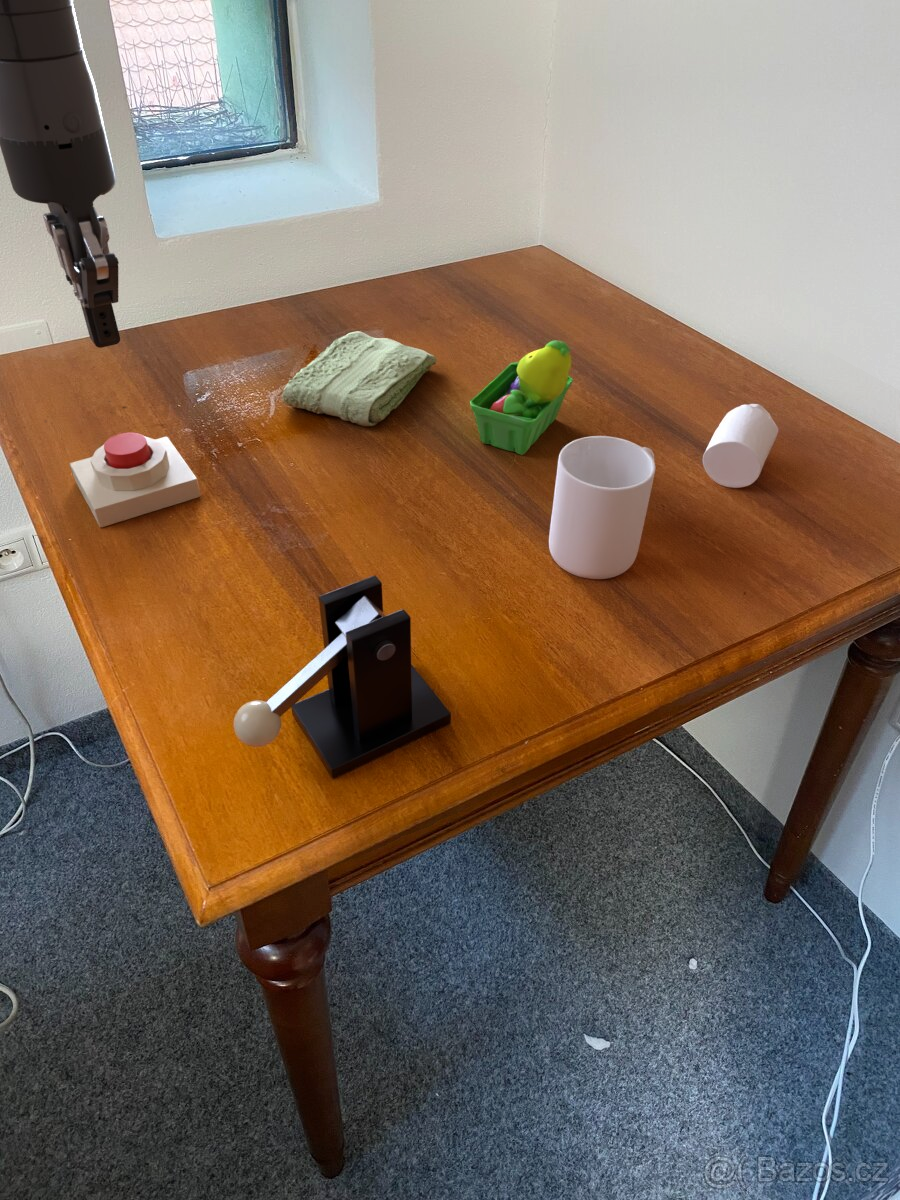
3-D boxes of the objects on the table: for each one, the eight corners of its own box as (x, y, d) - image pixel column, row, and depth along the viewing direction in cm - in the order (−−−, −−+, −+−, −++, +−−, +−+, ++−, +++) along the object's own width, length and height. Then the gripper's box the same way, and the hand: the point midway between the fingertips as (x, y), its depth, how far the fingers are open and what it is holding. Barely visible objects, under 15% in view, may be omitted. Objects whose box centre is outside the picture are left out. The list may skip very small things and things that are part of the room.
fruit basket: (510, 399, 103) (517, 306, 95) (580, 419, 100) (593, 325, 92) (465, 445, 95) (468, 349, 88) (539, 468, 92) (550, 370, 85)
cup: (529, 551, 82) (539, 460, 75) (607, 499, 88) (622, 410, 82) (599, 594, 78) (616, 501, 71) (676, 536, 84) (698, 446, 77)
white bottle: (778, 439, 97) (792, 394, 94) (753, 495, 89) (768, 448, 86) (724, 425, 99) (736, 380, 95) (696, 478, 91) (708, 432, 88)
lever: (263, 762, 60) (234, 747, 58) (245, 731, 62) (217, 715, 60) (402, 635, 60) (380, 615, 58) (380, 608, 62) (357, 587, 60)
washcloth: (441, 366, 108) (441, 342, 106) (375, 436, 96) (374, 410, 94) (347, 345, 112) (346, 321, 110) (273, 409, 100) (270, 384, 98)
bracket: (332, 779, 63) (319, 667, 55) (291, 715, 67) (273, 601, 59) (451, 723, 67) (454, 611, 59) (405, 665, 71) (402, 553, 63)
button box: (100, 528, 83) (89, 493, 81) (75, 481, 89) (64, 447, 86) (201, 496, 87) (194, 463, 85) (171, 453, 93) (163, 420, 90)
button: (114, 474, 84) (110, 459, 82) (103, 454, 86) (98, 439, 85) (156, 462, 85) (152, 447, 84) (143, 443, 88) (139, 428, 87)
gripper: (-24, 107, 67) (43, 323, 79) (16, 152, 59) (83, 385, 70) (76, 96, 70) (126, 305, 82) (127, 138, 62) (174, 363, 74)
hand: (106, 342), depth 76 cm, fingers closed
